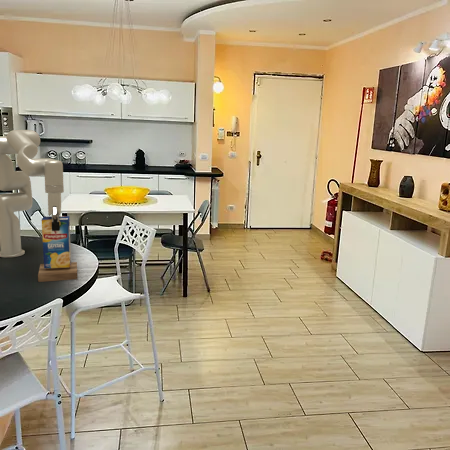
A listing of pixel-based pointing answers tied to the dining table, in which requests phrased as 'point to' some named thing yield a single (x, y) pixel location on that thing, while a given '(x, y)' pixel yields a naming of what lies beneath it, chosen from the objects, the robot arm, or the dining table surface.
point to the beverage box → (56, 243)
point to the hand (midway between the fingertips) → (56, 228)
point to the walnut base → (57, 273)
